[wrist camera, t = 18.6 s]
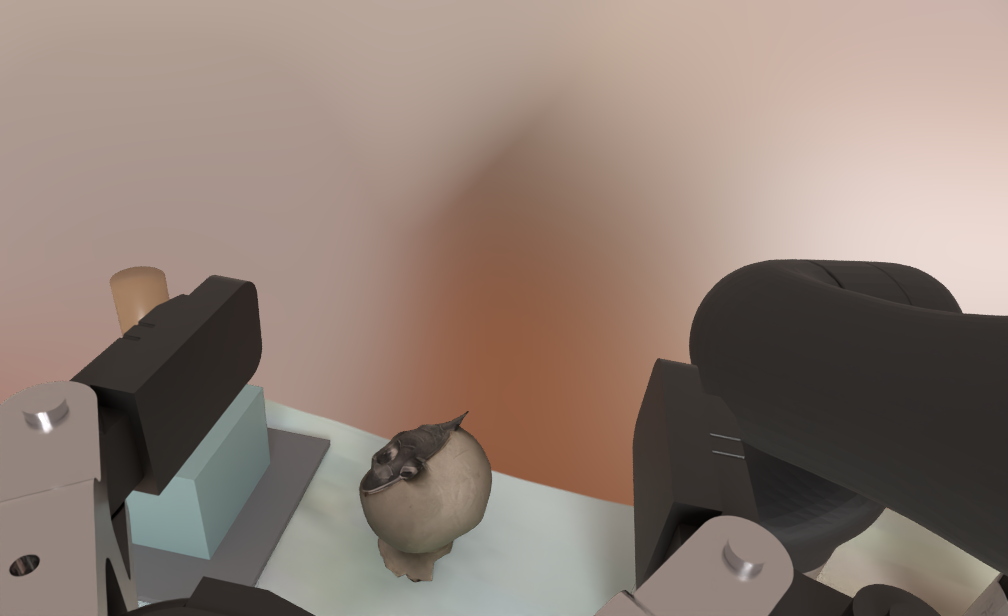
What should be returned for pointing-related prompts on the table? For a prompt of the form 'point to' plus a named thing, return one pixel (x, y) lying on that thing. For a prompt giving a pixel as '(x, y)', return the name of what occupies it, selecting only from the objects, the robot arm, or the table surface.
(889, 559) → the table surface
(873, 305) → the robot arm
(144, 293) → the peg on square base
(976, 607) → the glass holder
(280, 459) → the mat
